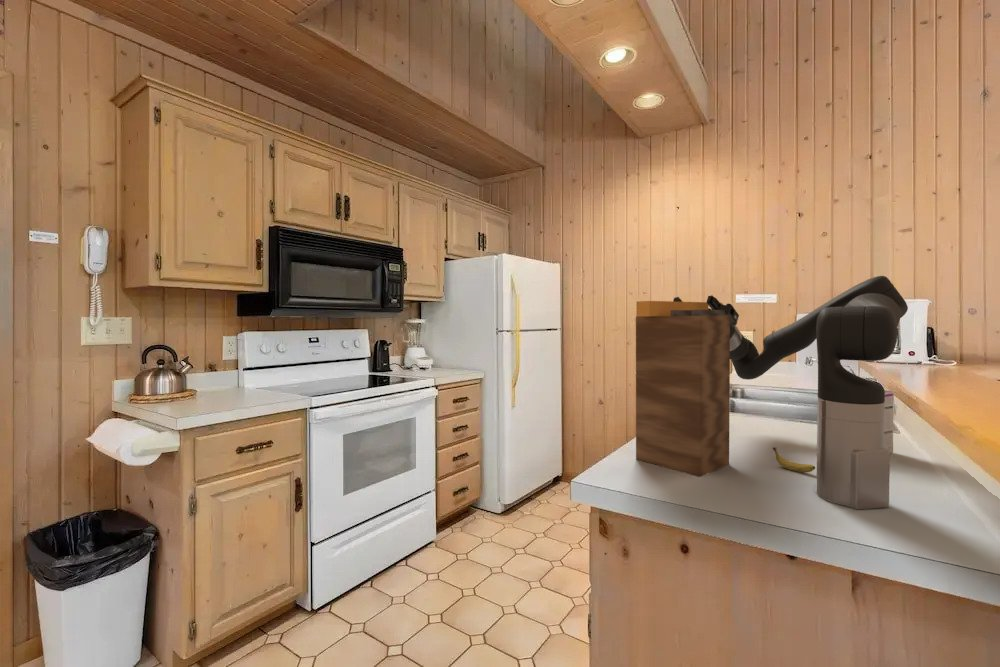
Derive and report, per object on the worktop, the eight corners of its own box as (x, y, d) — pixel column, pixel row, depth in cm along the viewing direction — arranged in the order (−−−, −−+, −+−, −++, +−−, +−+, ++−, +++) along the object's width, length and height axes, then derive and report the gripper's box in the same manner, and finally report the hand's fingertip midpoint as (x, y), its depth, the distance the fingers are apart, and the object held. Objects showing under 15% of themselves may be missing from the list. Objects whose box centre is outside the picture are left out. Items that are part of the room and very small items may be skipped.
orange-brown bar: (695, 315, 114) (695, 302, 114) (708, 315, 112) (708, 302, 112) (636, 316, 100) (636, 301, 100) (649, 316, 97) (649, 300, 97)
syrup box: (894, 453, 107) (895, 390, 106) (878, 456, 105) (879, 391, 104) (867, 446, 112) (867, 386, 112) (851, 449, 110) (851, 388, 110)
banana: (770, 466, 99) (770, 447, 99) (774, 464, 100) (774, 446, 99) (812, 477, 92) (813, 457, 92) (817, 475, 93) (817, 455, 93)
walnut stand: (666, 449, 112) (666, 311, 110) (729, 464, 100) (729, 309, 99) (636, 459, 104) (635, 311, 103) (699, 476, 92) (700, 309, 91)
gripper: (745, 345, 112) (716, 312, 103) (690, 343, 124) (660, 313, 115) (753, 318, 114) (725, 283, 106) (698, 319, 126) (668, 287, 117)
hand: (691, 299), depth 110 cm, fingers open, 8 cm apart
